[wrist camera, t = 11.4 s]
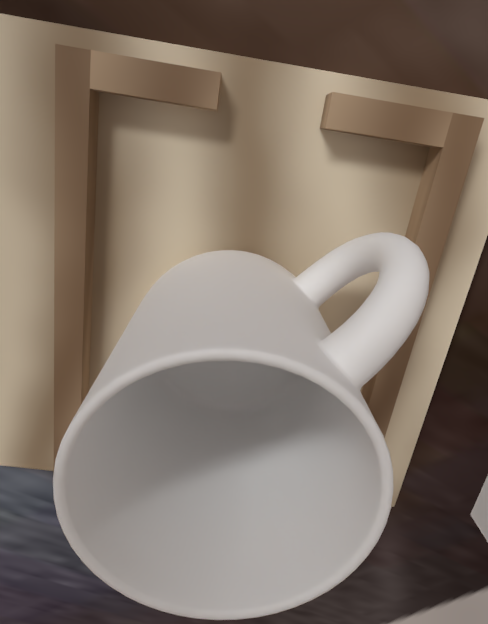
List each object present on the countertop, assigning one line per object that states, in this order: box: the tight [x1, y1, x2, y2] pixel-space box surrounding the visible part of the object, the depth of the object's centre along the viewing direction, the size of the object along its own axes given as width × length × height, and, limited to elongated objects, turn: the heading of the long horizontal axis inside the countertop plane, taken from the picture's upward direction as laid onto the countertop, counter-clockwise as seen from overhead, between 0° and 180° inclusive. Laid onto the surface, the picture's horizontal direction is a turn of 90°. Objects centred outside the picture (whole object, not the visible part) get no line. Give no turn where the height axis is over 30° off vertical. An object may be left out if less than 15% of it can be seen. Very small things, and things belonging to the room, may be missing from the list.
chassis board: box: [0, 14, 488, 507], centre depth 20 cm, size 22×20×2 cm
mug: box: [53, 232, 429, 620], centre depth 15 cm, size 12×8×10 cm
